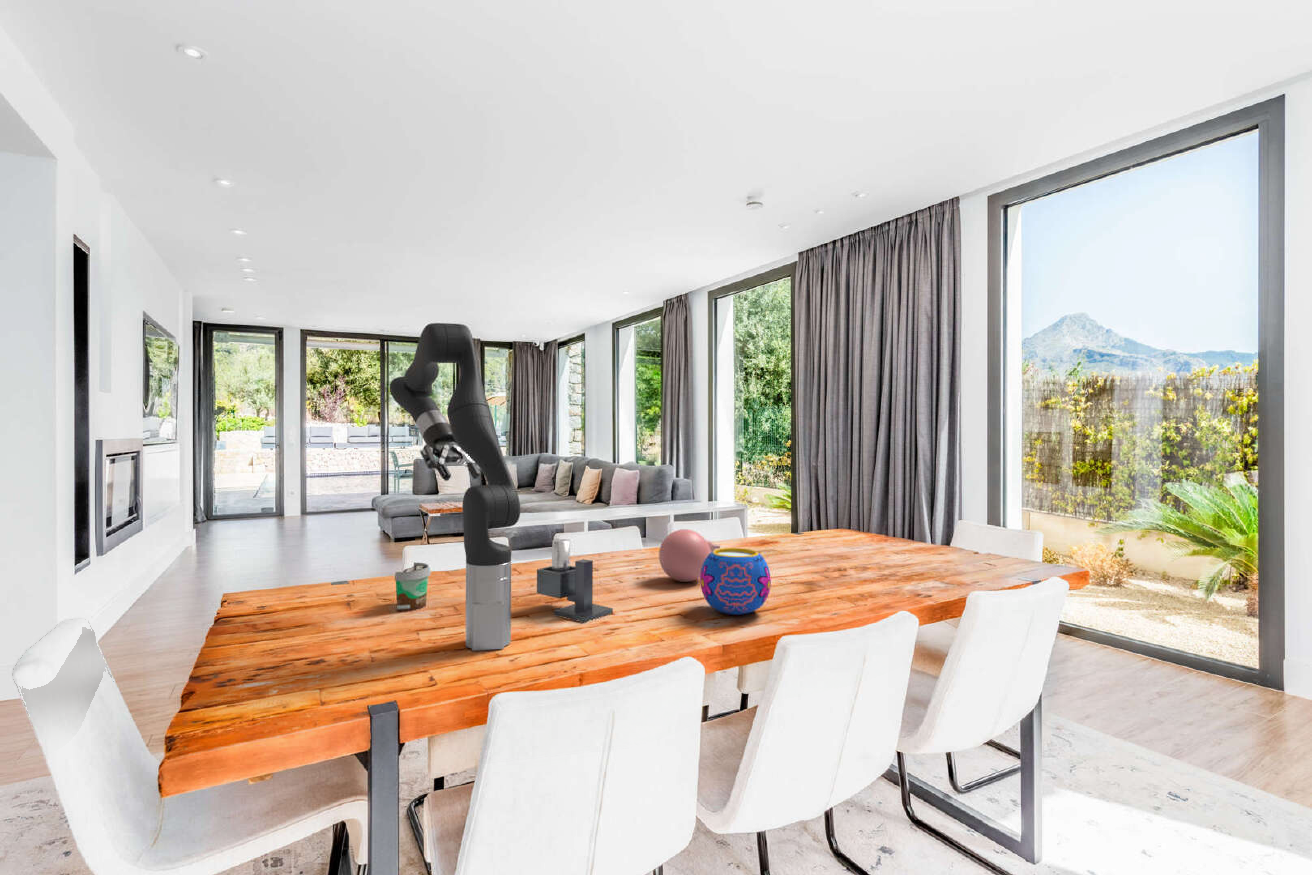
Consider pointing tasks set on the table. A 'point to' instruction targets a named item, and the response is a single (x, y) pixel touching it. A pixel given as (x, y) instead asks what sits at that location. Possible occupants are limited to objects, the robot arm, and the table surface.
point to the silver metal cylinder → (560, 555)
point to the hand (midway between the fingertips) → (463, 477)
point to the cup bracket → (572, 590)
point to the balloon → (684, 554)
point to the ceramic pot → (735, 580)
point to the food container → (412, 587)
